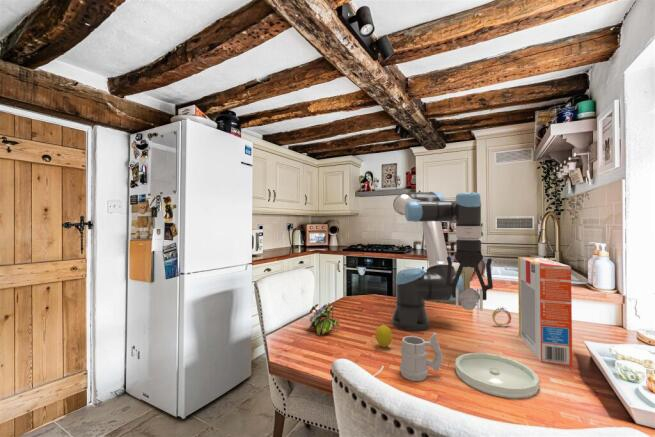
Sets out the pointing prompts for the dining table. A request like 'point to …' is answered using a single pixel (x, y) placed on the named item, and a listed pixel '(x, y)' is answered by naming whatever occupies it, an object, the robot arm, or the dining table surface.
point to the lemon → (383, 335)
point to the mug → (418, 357)
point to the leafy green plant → (327, 321)
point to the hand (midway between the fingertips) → (469, 308)
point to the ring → (498, 312)
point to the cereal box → (545, 309)
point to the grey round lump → (469, 298)
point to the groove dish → (497, 375)
